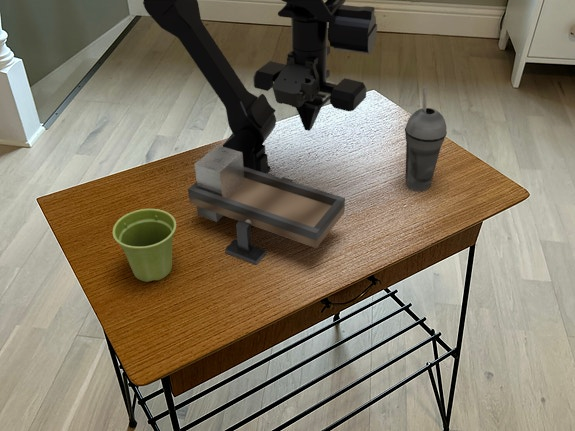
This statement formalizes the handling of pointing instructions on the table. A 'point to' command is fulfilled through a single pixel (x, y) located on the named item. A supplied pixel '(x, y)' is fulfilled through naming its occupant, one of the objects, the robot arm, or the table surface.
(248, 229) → the stand
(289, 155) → the table surface
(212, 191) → the steel rider
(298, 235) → the grey tray
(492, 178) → the table surface
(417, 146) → the beverage cup
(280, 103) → the robot arm
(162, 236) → the plant pot
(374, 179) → the table surface
